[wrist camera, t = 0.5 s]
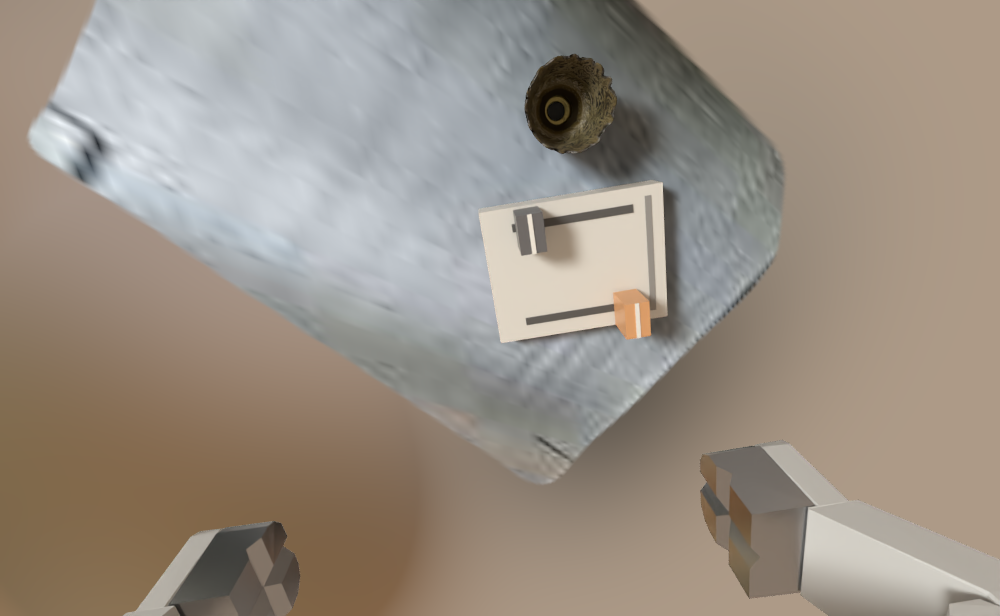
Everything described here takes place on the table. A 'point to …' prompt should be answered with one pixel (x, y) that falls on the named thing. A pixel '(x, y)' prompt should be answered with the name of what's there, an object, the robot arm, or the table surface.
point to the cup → (570, 103)
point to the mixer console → (577, 260)
